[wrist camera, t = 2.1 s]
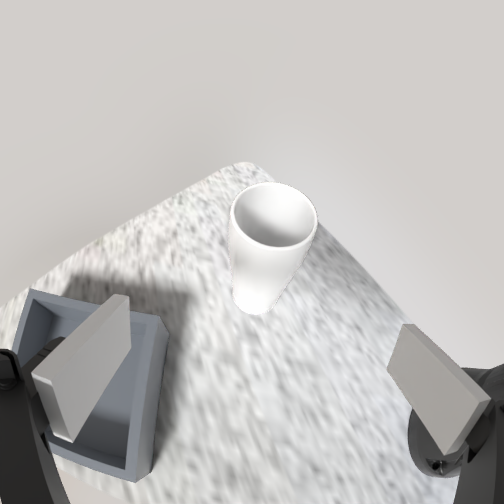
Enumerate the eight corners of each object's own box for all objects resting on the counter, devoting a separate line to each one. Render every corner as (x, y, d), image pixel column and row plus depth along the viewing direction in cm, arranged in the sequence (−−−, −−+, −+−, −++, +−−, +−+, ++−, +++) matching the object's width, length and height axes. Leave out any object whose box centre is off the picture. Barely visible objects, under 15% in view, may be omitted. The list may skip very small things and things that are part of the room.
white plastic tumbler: (290, 280, 36) (326, 196, 23) (273, 330, 32) (308, 264, 20) (238, 262, 36) (248, 170, 24) (216, 309, 33) (214, 231, 20)
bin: (169, 334, 31) (159, 315, 26) (151, 471, 22) (135, 482, 17) (53, 309, 30) (30, 288, 25) (29, 427, 22) (-1, 423, 17)
